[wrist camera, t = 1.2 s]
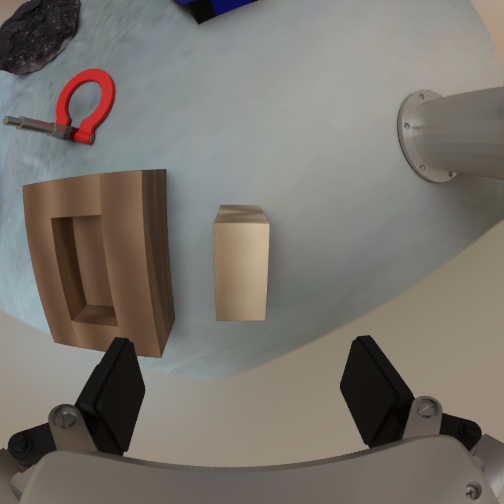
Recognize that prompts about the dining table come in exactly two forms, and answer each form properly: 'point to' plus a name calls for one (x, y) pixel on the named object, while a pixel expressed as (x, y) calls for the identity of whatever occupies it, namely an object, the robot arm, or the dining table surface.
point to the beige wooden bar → (241, 263)
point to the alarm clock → (211, 7)
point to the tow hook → (63, 119)
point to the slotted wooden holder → (102, 258)
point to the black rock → (36, 34)
